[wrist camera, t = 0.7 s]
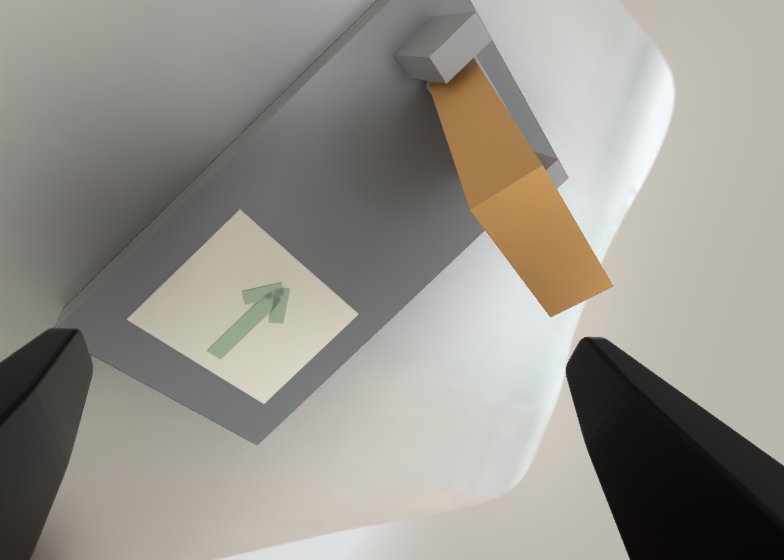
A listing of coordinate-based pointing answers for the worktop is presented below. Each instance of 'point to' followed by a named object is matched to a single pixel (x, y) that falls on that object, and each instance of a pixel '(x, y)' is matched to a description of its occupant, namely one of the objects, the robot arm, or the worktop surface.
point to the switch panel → (304, 226)
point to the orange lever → (515, 193)
